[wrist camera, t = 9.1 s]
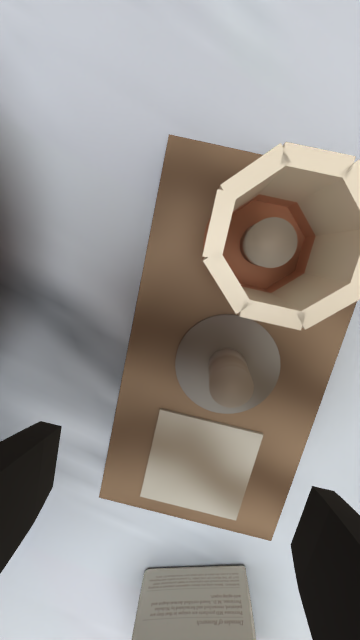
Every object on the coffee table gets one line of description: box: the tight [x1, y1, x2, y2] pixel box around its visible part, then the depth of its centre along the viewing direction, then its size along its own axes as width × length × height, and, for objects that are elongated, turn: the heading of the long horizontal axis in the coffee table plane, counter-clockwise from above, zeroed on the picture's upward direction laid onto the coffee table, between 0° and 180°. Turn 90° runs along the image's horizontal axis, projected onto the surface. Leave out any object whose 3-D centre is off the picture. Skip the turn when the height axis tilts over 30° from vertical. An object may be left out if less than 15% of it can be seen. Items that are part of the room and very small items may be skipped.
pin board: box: [99, 135, 357, 541], centre depth 16 cm, size 21×11×4 cm, turn 168°
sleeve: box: [202, 142, 360, 330], centre depth 12 cm, size 5×5×6 cm
